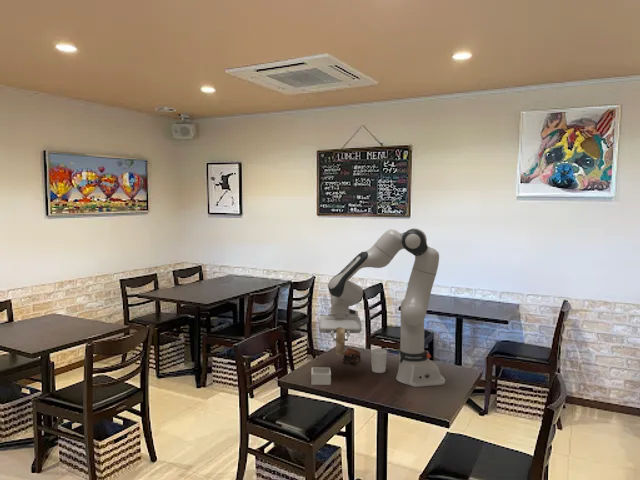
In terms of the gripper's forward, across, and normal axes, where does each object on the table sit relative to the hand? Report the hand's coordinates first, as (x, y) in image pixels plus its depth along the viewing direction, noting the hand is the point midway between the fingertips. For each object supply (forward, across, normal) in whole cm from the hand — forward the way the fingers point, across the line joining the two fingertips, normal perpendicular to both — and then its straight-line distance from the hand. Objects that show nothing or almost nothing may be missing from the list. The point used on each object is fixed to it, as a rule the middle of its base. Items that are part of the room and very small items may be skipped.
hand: (340, 340), depth 221 cm
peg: (+4, 0, +5) cm, 7 cm away
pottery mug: (-5, +8, +33) cm, 34 cm away
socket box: (+14, -9, +14) cm, 22 cm away
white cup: (+4, +20, +24) cm, 32 cm away
